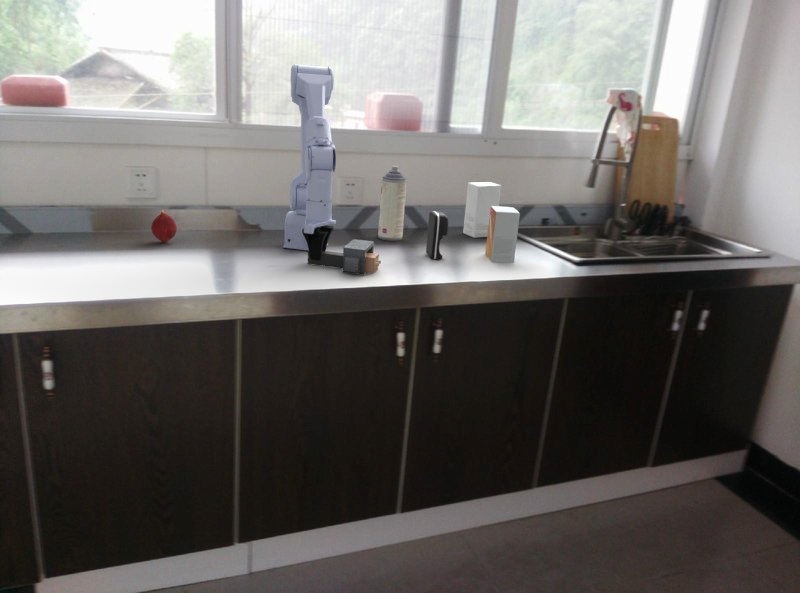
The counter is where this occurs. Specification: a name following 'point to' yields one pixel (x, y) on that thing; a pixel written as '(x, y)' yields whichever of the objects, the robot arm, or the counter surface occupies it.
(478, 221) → the skincare box
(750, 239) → the counter surface
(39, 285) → the counter surface
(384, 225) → the aerosol can
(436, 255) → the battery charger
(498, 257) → the small box
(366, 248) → the housing
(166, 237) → the onion
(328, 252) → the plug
